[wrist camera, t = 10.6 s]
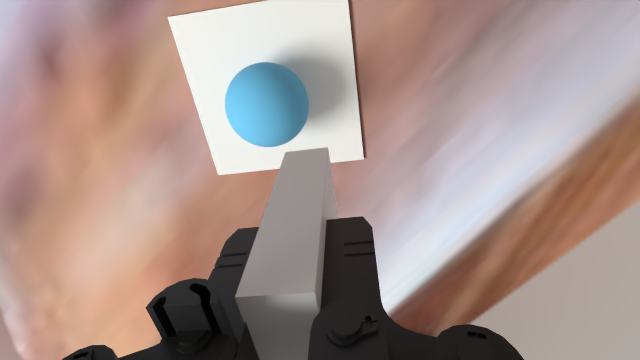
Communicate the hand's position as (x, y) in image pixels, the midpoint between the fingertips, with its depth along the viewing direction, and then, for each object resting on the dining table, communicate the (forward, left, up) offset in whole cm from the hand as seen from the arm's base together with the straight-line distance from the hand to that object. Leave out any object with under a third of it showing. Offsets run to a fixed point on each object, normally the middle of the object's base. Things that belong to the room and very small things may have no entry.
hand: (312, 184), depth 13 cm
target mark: (+3, -3, -14) cm, 15 cm away
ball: (+3, -3, -12) cm, 12 cm away
